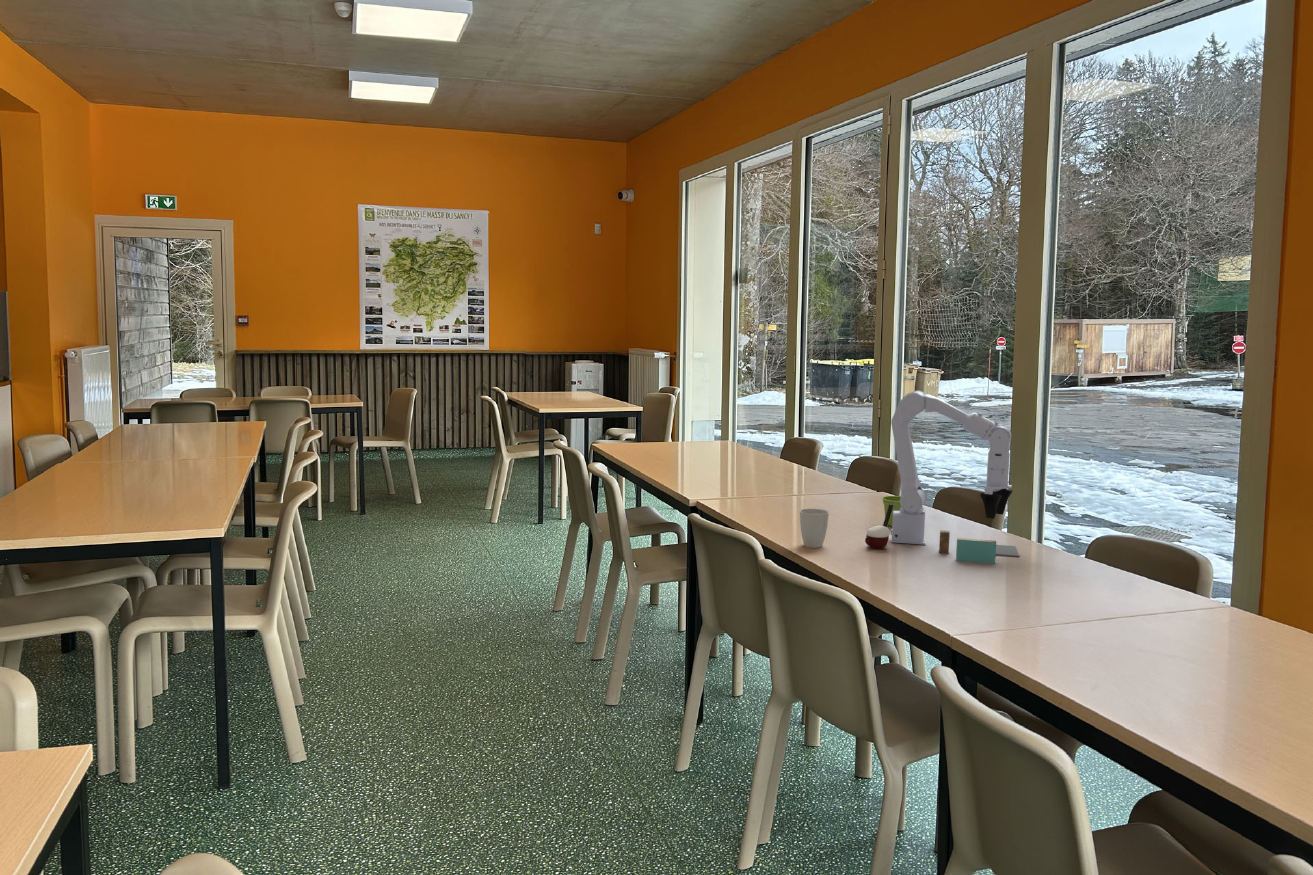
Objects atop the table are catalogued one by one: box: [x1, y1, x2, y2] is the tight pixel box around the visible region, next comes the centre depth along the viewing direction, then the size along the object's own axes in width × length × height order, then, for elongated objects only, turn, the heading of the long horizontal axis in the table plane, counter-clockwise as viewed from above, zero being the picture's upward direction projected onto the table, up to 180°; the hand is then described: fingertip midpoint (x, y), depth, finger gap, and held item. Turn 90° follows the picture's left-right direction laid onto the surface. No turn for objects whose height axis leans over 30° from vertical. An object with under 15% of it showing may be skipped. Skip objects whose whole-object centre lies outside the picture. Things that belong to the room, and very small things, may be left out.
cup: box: [799, 508, 830, 549], centre depth 271 cm, size 8×8×10 cm
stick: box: [938, 529, 951, 555], centre depth 265 cm, size 2×2×6 cm
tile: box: [955, 537, 997, 565], centre depth 256 cm, size 10×2×6 cm, turn 74°
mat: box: [996, 544, 1020, 558], centre depth 269 cm, size 12×12×1 cm
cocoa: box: [864, 504, 893, 550], centre depth 270 cm, size 10×6×12 cm, turn 98°
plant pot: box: [881, 495, 902, 527], centre depth 300 cm, size 9×9×9 cm
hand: (994, 516), depth 269 cm, fingers open, 7 cm apart
